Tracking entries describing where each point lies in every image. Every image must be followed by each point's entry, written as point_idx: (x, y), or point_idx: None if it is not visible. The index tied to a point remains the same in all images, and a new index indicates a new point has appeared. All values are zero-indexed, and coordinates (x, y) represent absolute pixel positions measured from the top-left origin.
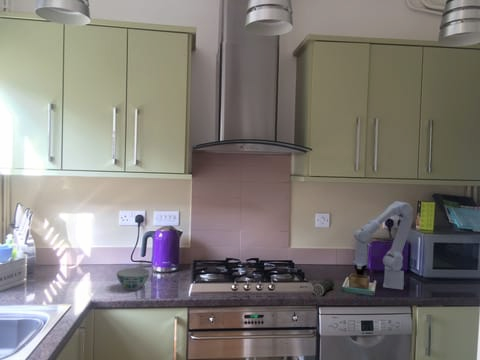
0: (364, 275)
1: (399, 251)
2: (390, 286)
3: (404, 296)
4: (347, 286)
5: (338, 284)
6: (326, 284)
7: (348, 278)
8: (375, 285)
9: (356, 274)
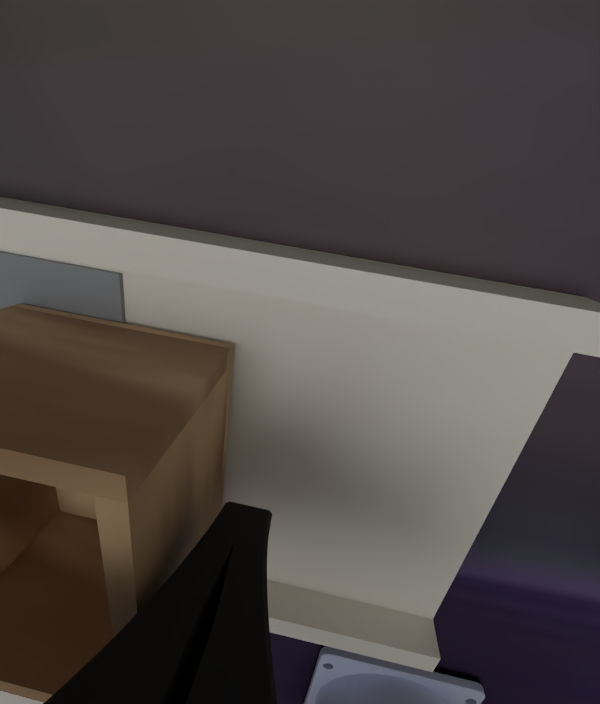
0: None
1: None
2: (318, 699)
3: None
4: (101, 286)
5: (260, 117)
6: None
7: (568, 345)
8: None
9: (134, 583)
